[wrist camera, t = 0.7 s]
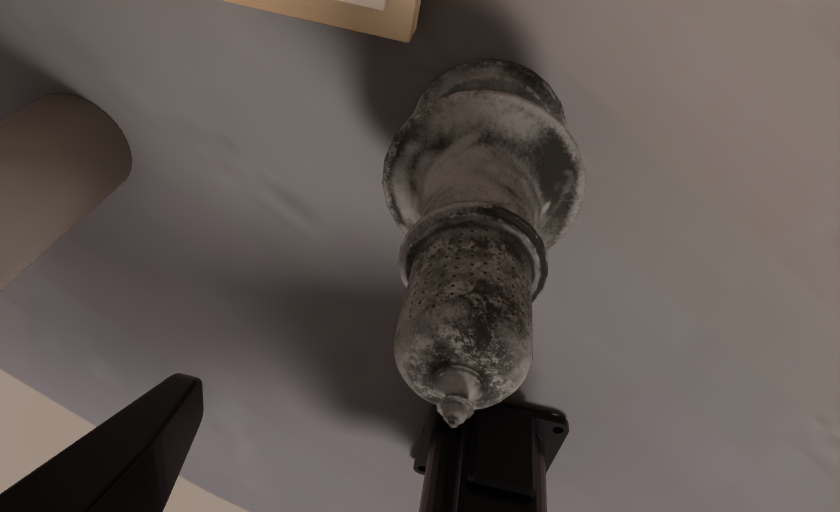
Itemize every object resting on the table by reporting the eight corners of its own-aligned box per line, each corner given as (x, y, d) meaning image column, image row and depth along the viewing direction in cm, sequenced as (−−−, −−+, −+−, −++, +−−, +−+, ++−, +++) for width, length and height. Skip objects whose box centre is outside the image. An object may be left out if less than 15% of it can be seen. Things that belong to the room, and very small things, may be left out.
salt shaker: (373, 159, 21) (247, 438, 11) (459, 12, 18) (382, 232, 8) (509, 237, 22) (498, 550, 12) (614, 112, 19) (709, 411, 9)
